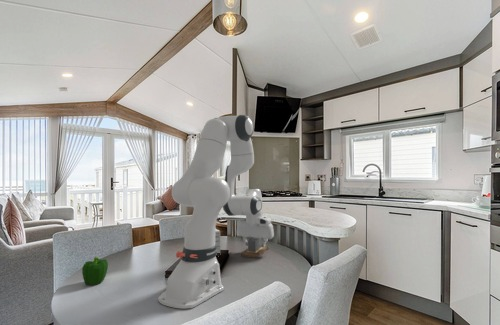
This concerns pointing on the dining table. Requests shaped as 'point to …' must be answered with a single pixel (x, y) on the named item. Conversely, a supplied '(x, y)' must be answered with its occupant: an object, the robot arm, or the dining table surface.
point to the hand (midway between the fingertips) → (255, 246)
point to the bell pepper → (94, 271)
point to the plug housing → (254, 244)
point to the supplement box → (217, 240)
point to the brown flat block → (254, 254)
